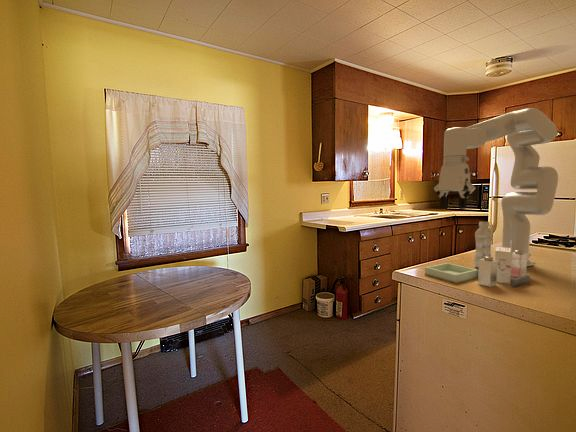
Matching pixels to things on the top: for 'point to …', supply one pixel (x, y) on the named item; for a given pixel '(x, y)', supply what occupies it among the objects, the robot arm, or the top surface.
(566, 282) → the top surface
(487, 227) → the plastic bottle
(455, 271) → the tray
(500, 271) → the ink cartridge box
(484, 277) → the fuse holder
